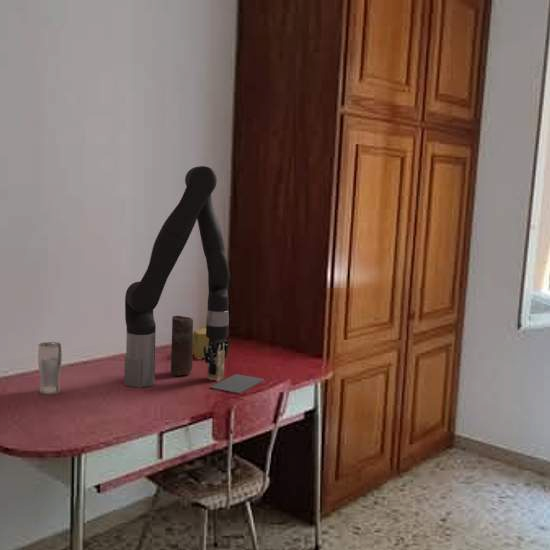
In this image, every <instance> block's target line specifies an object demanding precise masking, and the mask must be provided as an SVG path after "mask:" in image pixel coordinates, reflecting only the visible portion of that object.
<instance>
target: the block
mask: <svg viewBox="0 0 550 550" xmlns="http://www.w3.org/2000/svg"><path fill="white" fill-rule="evenodd" d="M212 354H213V355H215V354H216V353H212ZM224 355H225V350H219V352H218V357H217V359H216V374H215V375H211V374H209V363H207V380H208V379H210V380H209V381H212V380H216V381H215V382H220V381H222V380H224V379H223V378H224V377H225V376H224V375H225V358H224ZM208 359H209V357H208ZM213 360H214V357H213ZM221 379H222V380H221ZM219 380H220V381H219Z"/></svg>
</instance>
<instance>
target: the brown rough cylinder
mask: <svg viewBox="0 0 550 550" xmlns="http://www.w3.org/2000/svg"><path fill="white" fill-rule="evenodd" d="M193 333H194V319H193V318H192V317H189V316H182V315H174V316H172V322H171V351H170V353H171V354H170V357H171V359H170V374H171V376H175V377H177V376H186V375H189V374H191V373H192V372H193V354H192V351H193Z"/></svg>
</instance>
